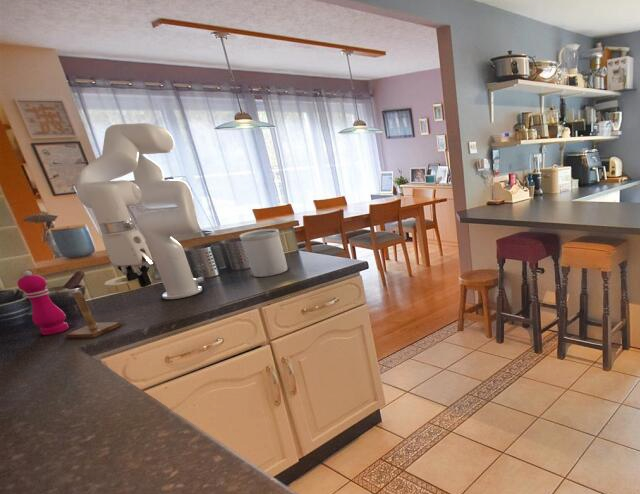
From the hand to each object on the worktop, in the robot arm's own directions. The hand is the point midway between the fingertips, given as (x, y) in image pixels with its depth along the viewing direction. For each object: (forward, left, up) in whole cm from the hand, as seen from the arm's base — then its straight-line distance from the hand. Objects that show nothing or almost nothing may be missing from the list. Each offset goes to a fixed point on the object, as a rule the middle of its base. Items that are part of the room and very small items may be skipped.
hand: (141, 285), depth 135 cm
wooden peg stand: (+6, -15, -13) cm, 21 cm away
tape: (0, -4, 0) cm, 4 cm away
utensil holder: (-54, +5, -13) cm, 55 cm away
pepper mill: (+5, -30, -13) cm, 33 cm away
